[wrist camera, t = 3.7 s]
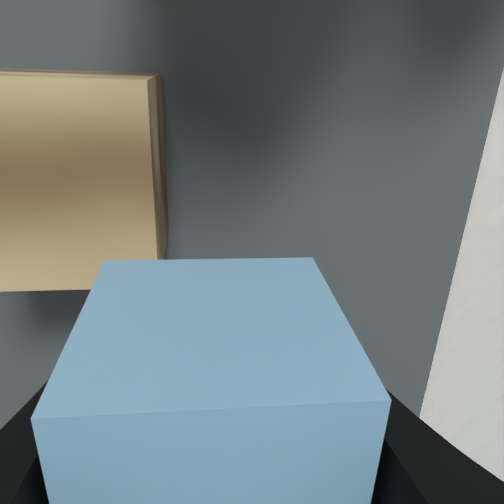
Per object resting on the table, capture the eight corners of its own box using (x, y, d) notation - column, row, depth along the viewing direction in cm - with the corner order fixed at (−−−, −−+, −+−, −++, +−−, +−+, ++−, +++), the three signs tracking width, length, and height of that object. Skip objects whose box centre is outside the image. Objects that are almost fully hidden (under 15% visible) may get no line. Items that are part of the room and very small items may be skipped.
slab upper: (164, 254, 16) (159, 287, 14) (-12, 257, 15) (-49, 292, 13) (155, 76, 14) (146, 80, 11) (-55, 69, 13) (-109, 73, 11)
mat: (410, 438, 25) (412, 443, 25) (2, 466, 23) (-1, 470, 22) (530, -70, 16) (536, -72, 15) (-157, -120, 13) (-165, -124, 13)
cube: (297, 412, 13) (349, 604, 8) (122, 422, 12) (77, 633, 8) (312, 257, 11) (391, 399, 6) (104, 260, 10) (30, 418, 6)
